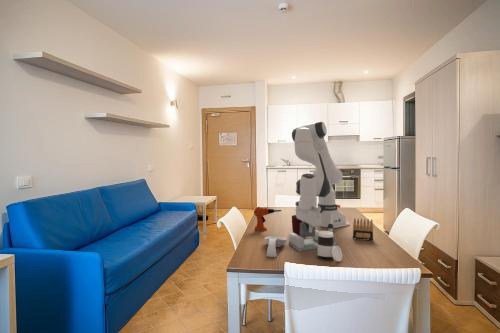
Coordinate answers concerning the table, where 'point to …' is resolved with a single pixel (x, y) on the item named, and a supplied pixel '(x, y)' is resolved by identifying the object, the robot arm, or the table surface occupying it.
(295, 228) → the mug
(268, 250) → the spoon rest
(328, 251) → the spread jar
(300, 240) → the vise
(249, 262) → the table surface
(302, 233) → the steel block
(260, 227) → the toy drill
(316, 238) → the sliding jaw
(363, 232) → the ammunition clip
